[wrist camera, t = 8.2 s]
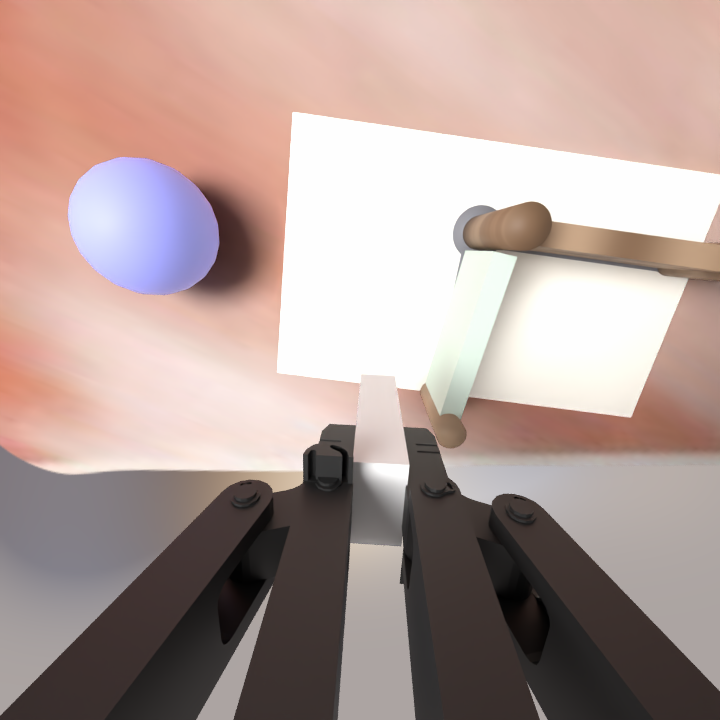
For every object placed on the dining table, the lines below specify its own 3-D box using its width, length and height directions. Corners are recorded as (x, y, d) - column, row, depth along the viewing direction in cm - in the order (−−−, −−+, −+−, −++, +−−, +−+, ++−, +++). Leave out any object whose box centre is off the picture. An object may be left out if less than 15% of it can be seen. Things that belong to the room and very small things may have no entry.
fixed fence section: (693, 245, 22) (838, 244, 15) (680, 278, 22) (814, 291, 16) (466, 213, 21) (511, 198, 15) (459, 247, 22) (500, 247, 15)
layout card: (723, 177, 21) (732, 175, 20) (626, 415, 26) (631, 418, 25) (294, 114, 20) (292, 111, 20) (278, 370, 25) (276, 373, 25)
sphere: (173, 145, 21) (83, 97, 14) (259, 236, 22) (214, 231, 16) (106, 229, 22) (-4, 221, 16) (190, 309, 24) (123, 333, 17)
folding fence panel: (462, 249, 22) (497, 250, 16) (487, 255, 22) (530, 258, 16) (417, 399, 25) (433, 444, 19) (439, 404, 25) (461, 450, 19)
